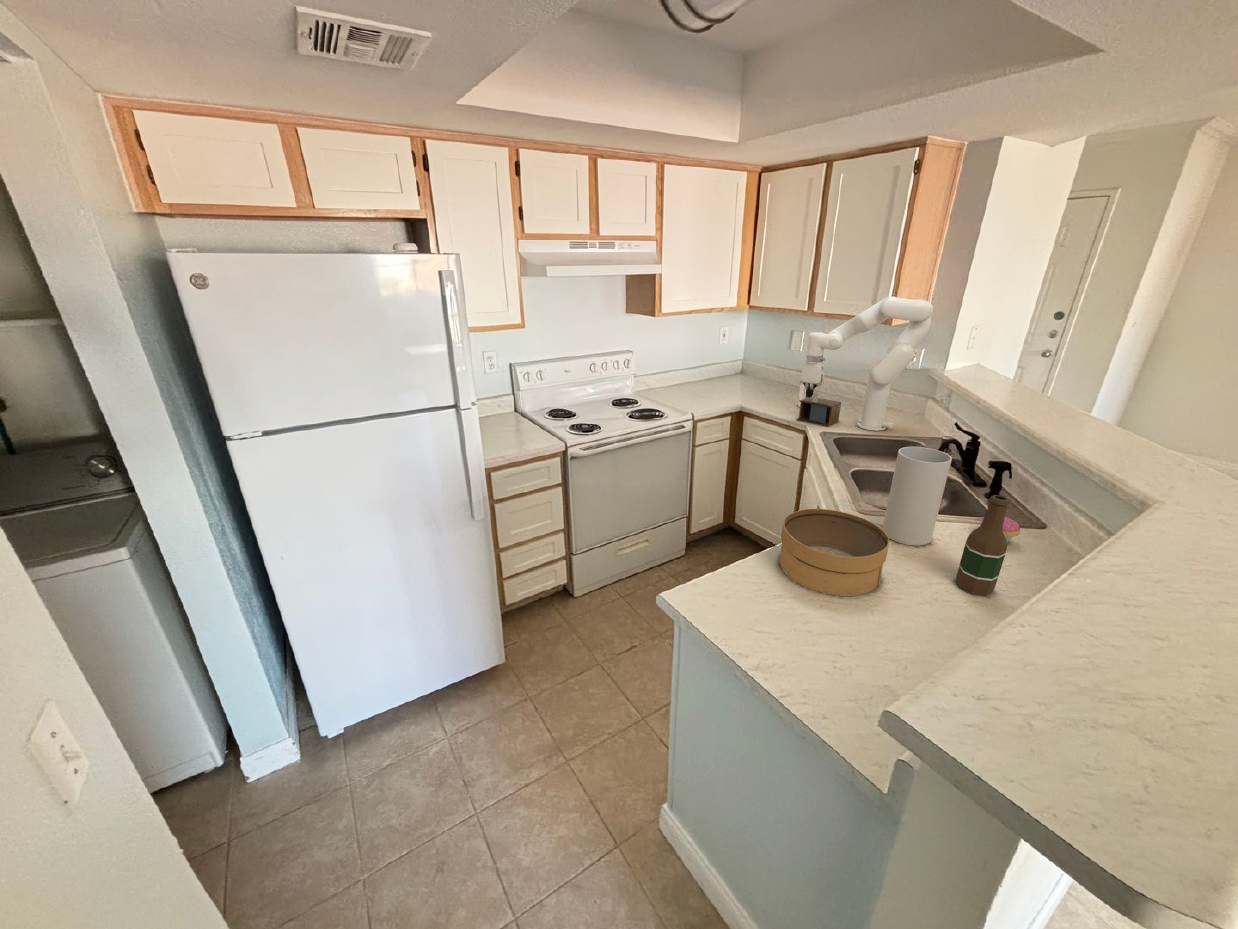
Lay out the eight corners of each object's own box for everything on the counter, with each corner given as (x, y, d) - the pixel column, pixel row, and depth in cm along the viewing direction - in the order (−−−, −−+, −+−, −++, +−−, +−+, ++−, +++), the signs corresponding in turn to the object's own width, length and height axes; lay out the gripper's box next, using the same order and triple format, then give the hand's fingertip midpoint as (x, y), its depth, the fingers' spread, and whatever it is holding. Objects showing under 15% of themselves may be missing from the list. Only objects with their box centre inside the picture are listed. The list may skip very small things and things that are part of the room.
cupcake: (975, 540, 141) (986, 502, 137) (982, 529, 147) (993, 492, 143) (1012, 551, 136) (1025, 512, 131) (1018, 540, 141) (1031, 502, 137)
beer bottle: (952, 588, 121) (978, 499, 112) (956, 574, 126) (981, 487, 117) (992, 601, 116) (1021, 508, 107) (994, 585, 122) (1022, 495, 113)
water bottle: (808, 409, 270) (814, 362, 260) (795, 407, 274) (801, 361, 264) (812, 406, 275) (818, 360, 265) (800, 404, 279) (805, 359, 269)
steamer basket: (870, 549, 138) (878, 512, 133) (892, 605, 115) (901, 563, 111) (776, 538, 144) (781, 503, 139) (780, 589, 121) (785, 549, 117)
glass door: (824, 423, 242) (828, 395, 237) (809, 420, 248) (812, 392, 243) (825, 423, 243) (829, 395, 238) (809, 420, 248) (813, 392, 243)
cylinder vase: (892, 521, 153) (909, 443, 143) (937, 536, 144) (958, 454, 135) (874, 535, 145) (890, 454, 136) (921, 552, 136) (942, 466, 127)
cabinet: (827, 426, 241) (830, 406, 237) (796, 420, 251) (799, 400, 248) (838, 421, 248) (841, 401, 245) (807, 415, 259) (810, 396, 255)
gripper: (832, 359, 235) (827, 398, 242) (802, 356, 245) (798, 393, 252) (825, 362, 231) (820, 400, 237) (795, 358, 241) (791, 395, 247)
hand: (809, 396), depth 245 cm, fingers closed
